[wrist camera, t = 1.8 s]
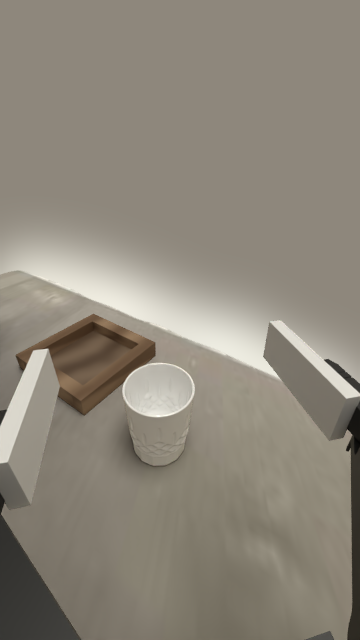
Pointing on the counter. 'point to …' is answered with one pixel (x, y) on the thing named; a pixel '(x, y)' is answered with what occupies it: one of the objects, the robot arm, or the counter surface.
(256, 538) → the counter surface
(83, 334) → the wooden tray
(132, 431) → the white cup
